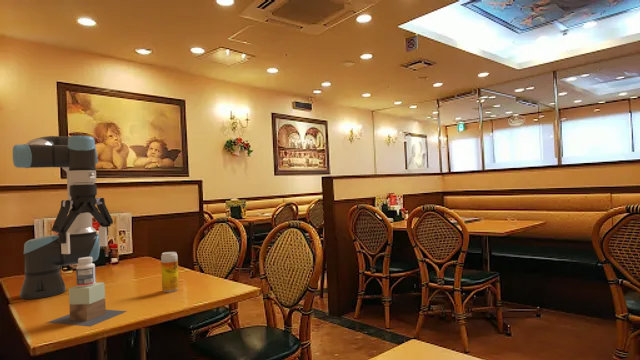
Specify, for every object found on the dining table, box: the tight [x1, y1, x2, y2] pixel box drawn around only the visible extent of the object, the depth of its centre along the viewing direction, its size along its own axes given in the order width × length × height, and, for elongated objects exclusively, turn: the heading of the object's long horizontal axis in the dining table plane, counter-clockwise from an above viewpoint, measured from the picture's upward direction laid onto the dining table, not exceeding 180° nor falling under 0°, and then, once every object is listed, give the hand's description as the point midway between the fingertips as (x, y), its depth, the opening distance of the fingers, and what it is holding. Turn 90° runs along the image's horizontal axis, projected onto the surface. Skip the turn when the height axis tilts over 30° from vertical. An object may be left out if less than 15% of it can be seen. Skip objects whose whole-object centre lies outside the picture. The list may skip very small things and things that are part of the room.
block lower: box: [68, 297, 107, 321], centre depth 125 cm, size 7×7×5 cm
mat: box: [46, 309, 128, 327], centre depth 125 cm, size 18×14×1 cm
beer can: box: [160, 251, 180, 293], centre depth 155 cm, size 6×6×15 cm
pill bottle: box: [75, 257, 97, 287], centre depth 125 cm, size 5×5×9 cm
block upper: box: [68, 282, 106, 304], centre depth 125 cm, size 7×7×5 cm
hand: (85, 249), depth 125 cm, fingers open, 13 cm apart
